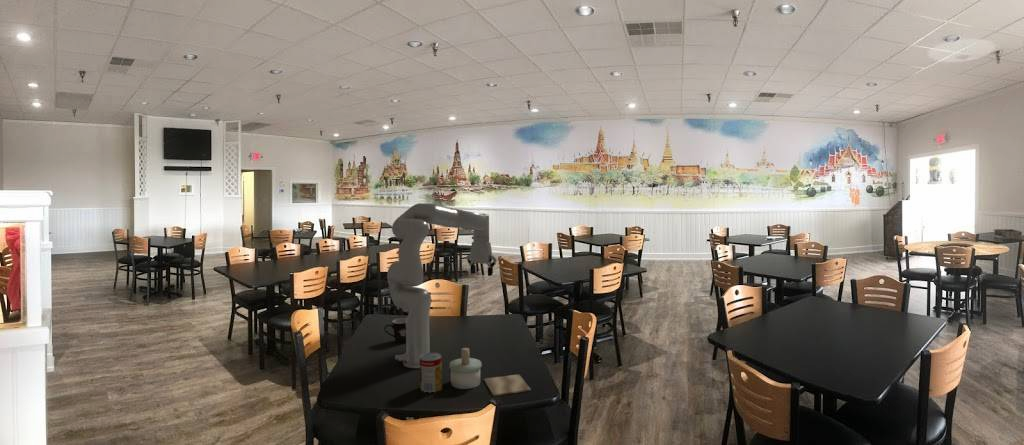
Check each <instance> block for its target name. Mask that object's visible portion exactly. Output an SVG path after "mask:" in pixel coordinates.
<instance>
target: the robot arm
mask: <svg viewBox="0 0 1024 445" xmlns="http://www.w3.org/2000/svg"><path fill="white" fill-rule="evenodd" d="M429 224H431V225H434V226H435V225H436V226H442V227H446V228H454V229H462V230H466V231H473V236H471V240H473V241H472V242H471V246H470V254H468V255H466V256H465V258H466V261H467V263H468V265H469V266H470V274H471V275H474V274H476V273H477V269H476V267H477V266H476V265H475V264H483V265H486V266H487V276H488V277H491V276H493V273H494V271H493V270H494V267H495V265H496V264H497V261H498V258H497V257H496V256H494V255H493V250H492V245H491V242H490V215H489V214H488V213H478V212H472V211H468V210H463V209H458V208H453V207H447V206H444V205H440V204H435V203H421V202H419V203H418V202H417V203H416V204H413V205H412V206H411V207H410V208H408V209H407V210H406V211H404V212H403V213H402V214H400V215H399V216H398V217H397V218H396V219H395V220H394V222H393V223H392V226H391V232H392V235H394V236H395V238H397V239H401V240H402V241H401V243H400V245H399V247H398V250H397V254H398V255H397V256H398V261H394V262H393V263H391V264H390V265H389V267H388V269H387V272H386V273H387V274H386V275H387V276H386V278H387V283H388V288H389V293H390V298H391V300H392V303H393V304H394V306H396V307H397V308H400V309H404V310H408V311H409V312H408V314H407V316H406V318H407V319H406V343H405V344H406V346H405V348H406V350H405V352H404V353H402V354H395V356H394V360H395V361H398V362H402V365H403V367H405V368H408V369H420V356H421V355H422V354H425V353H431V349H430V348H431V347H430V346H431V345H430V342H431V341H430V337H431V336H430V311H431V305H432V296H431V294H430V292H429V291H428V290H426V289H425V288H422V287H419V286H420V285H422V284H423V281H424V271H423V267H422V265H423V264H422V260H421V255H420V254H421V252H420V250H421V246H422V244H423V242H424V241H425V239H426V238H427V236H428V233H429V231H430V227H429Z"/></svg>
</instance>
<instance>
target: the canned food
mask: <svg viewBox="0 0 1024 445" xmlns="http://www.w3.org/2000/svg"><path fill="white" fill-rule="evenodd" d="M442 364H443V362H442V354H441V353H439V352H430V353H425V354H422V355H421V356H420V368H419V386H420V387H419V390H420V389H421V390H422V391H424V392H423V393H425V392H429V393H428V394H432V393H431V392H434V393H437V391H438V392H439V391H441V390H442V389H443V369H442V368H443V367H442V366H443V365H442ZM421 390H420V391H421ZM422 391H421V392H422Z"/></svg>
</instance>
